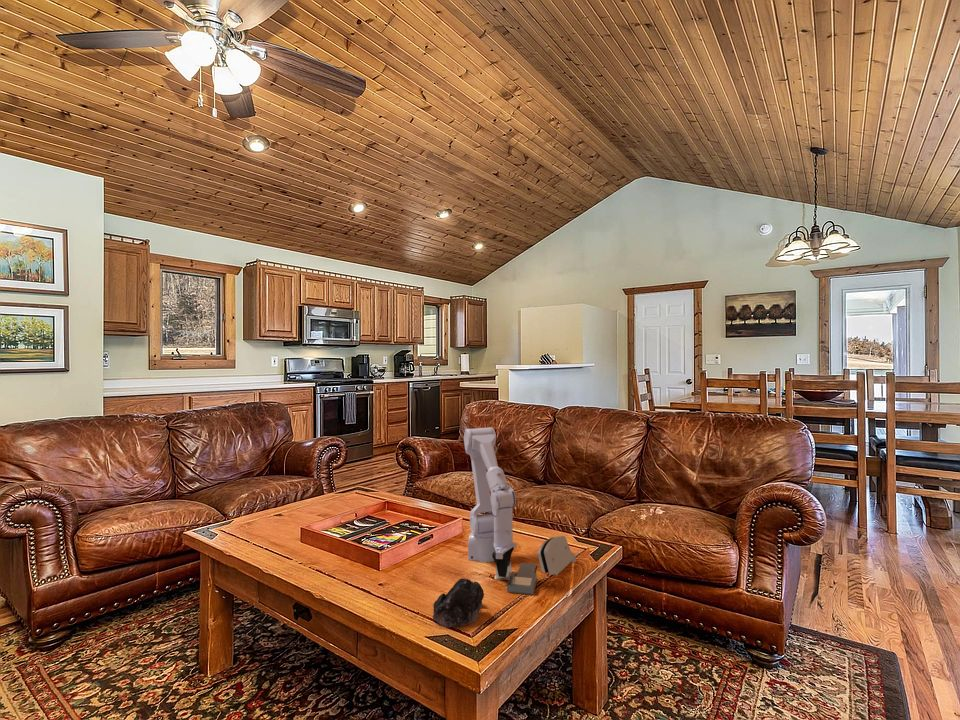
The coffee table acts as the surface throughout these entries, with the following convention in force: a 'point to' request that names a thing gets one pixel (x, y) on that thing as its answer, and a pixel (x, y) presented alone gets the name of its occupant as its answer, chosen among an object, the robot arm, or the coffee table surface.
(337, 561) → the coffee table surface
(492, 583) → the coffee table surface
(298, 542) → the coffee table surface
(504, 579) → the pad
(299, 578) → the coffee table surface
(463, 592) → the black rock
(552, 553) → the grey rounded housing
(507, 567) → the block
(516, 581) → the flange rail
